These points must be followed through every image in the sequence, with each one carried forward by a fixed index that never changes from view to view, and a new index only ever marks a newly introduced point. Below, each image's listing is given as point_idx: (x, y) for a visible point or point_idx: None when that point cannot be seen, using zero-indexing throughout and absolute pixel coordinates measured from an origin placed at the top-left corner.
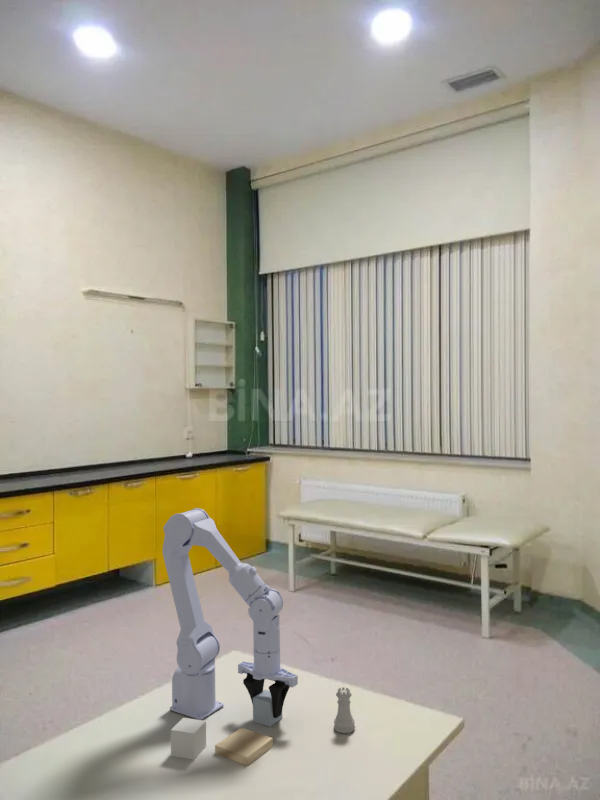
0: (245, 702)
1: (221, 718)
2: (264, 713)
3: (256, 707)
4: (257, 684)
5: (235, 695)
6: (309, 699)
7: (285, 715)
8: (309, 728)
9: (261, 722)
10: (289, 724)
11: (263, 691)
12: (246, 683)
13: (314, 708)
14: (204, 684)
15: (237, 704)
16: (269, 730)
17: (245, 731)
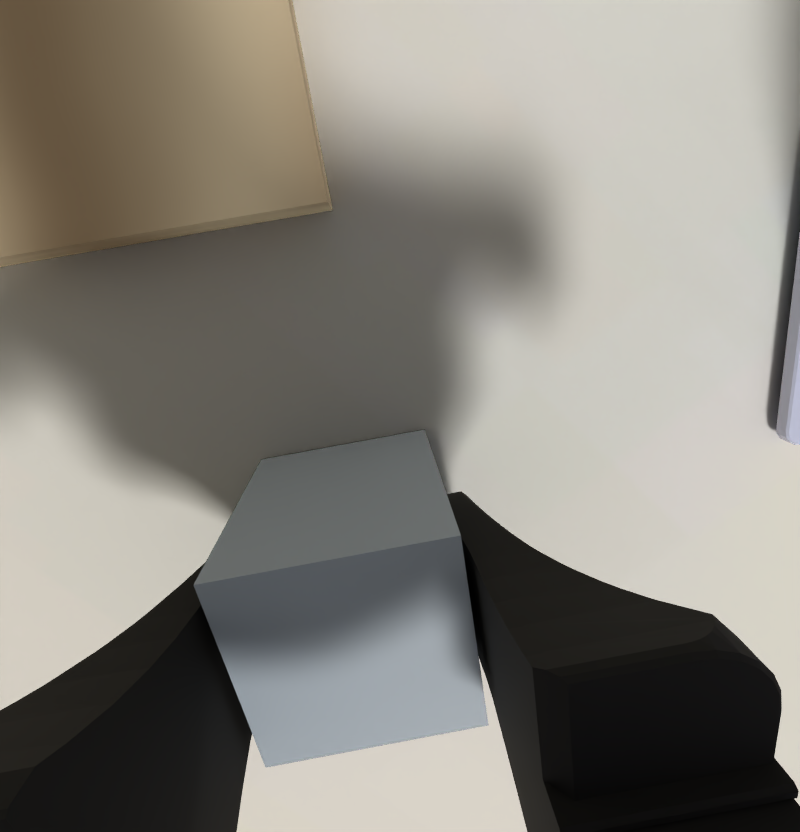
0: (666, 569)
1: (670, 295)
2: (301, 493)
3: (398, 493)
4: (520, 737)
5: (789, 585)
6: (357, 813)
7: None
8: (51, 617)
9: (344, 450)
10: (193, 568)
11: (474, 694)
12: (639, 638)
13: (249, 774)
14: None
15: (698, 518)
16: (223, 422)
17: (227, 173)
